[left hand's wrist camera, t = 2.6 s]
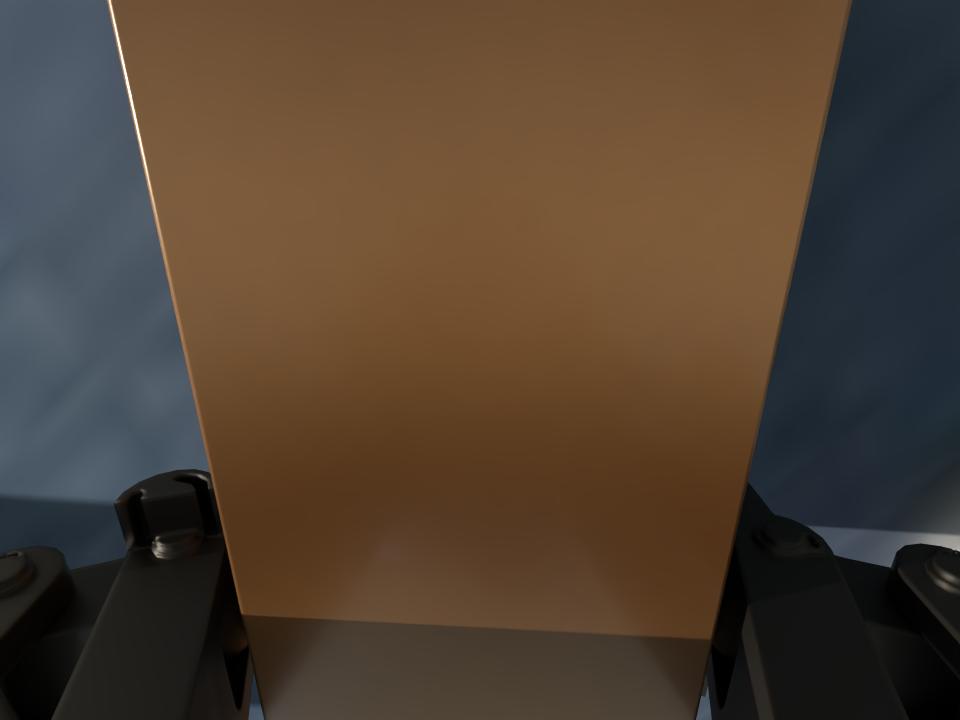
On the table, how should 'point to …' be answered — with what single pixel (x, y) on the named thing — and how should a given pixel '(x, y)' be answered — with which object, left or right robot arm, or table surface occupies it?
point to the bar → (480, 327)
